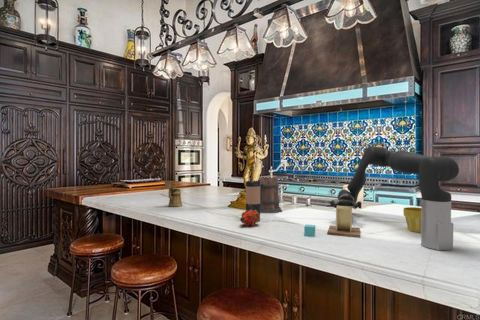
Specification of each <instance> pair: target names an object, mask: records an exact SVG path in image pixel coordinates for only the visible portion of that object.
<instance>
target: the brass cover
mask: <svg viewBox="0 0 480 320" xmlns="http://www.w3.org/2000/svg"><path fill="white" fill-rule="evenodd" d="M352 222H353V208H352V207H351V206H337V207H336V208H335V226H336V231H337V230H338V228H342V229H350V232H351V231H352V227H353V223H352Z"/></svg>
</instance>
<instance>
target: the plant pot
mask: <svg viewBox="0 0 480 320" xmlns="http://www.w3.org/2000/svg"><path fill="white" fill-rule="evenodd" d="M403 216H404V217H405V220H406V221H405V222H406V225H407V230H408V231H410V232H414V233H421V207H416V206H415V207H413V206H408V207H406V206H405V207H403Z"/></svg>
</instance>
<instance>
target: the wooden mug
mask: <svg viewBox="0 0 480 320" xmlns="http://www.w3.org/2000/svg"><path fill="white" fill-rule="evenodd" d="M163 183H164V185H165V187H166V188H167V189H168V198H169V200H168V206H167V207H168V208H181V207H183V202H182V196H181V194H182V192H181V189H180V188H174V185H173V183H172V182H171V181H169V180H168V179H165V180H164V182H163ZM180 206H181V207H180Z"/></svg>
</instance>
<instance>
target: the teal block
mask: <svg viewBox="0 0 480 320" xmlns="http://www.w3.org/2000/svg"><path fill="white" fill-rule="evenodd" d="M303 231H304V233H303V236H304V237H312V238H314V237H315V236H316V225H315V224H304V230H303Z"/></svg>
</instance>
